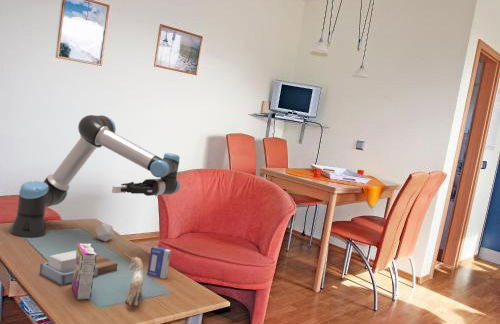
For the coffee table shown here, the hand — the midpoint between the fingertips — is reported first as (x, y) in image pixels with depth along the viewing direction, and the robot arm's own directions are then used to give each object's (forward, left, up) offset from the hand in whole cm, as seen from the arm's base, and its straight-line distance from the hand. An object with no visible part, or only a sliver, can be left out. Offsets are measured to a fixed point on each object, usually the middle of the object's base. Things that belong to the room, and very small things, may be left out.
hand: (113, 189), depth 187 cm
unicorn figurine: (+30, -15, -32) cm, 47 cm away
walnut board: (+3, -5, -32) cm, 32 cm away
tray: (+3, -19, -32) cm, 37 cm away
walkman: (+22, +10, -32) cm, 40 cm away
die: (-24, +22, -32) cm, 46 cm away
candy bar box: (+18, -25, -32) cm, 45 cm away
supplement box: (+2, -13, -28) cm, 31 cm away
